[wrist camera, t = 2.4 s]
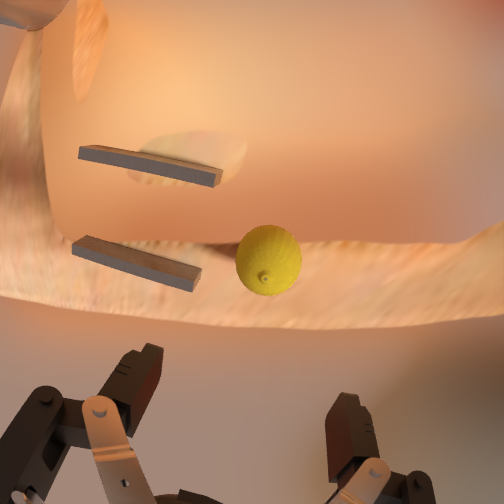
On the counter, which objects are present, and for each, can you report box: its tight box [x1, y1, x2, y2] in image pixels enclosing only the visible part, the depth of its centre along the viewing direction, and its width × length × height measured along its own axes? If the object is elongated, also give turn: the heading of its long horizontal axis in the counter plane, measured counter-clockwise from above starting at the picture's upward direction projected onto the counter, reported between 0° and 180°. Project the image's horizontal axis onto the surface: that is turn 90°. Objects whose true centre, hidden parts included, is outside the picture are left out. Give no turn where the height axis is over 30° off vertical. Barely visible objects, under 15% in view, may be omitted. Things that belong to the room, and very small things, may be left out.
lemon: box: [235, 225, 302, 296], centre depth 27 cm, size 6×6×8 cm
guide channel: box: [72, 145, 223, 292], centre depth 29 cm, size 11×14×3 cm
